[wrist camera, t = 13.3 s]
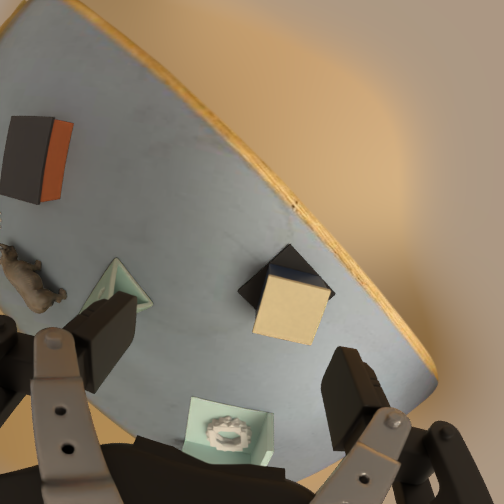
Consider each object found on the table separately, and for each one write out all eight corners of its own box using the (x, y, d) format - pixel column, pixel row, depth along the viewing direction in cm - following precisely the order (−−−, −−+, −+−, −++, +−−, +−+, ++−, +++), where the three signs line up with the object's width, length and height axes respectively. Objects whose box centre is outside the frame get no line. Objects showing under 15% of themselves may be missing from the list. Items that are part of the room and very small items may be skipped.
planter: (97, 376, 39) (155, 330, 32) (60, 363, 35) (106, 310, 28) (100, 333, 45) (156, 277, 38) (67, 319, 41) (114, 256, 34)
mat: (237, 290, 35) (237, 291, 34) (289, 243, 33) (290, 244, 33) (284, 335, 36) (284, 336, 35) (335, 293, 34) (335, 294, 34)
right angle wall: (273, 413, 39) (273, 451, 32) (254, 458, 42) (252, 492, 35) (191, 396, 39) (179, 432, 32) (184, 443, 42) (174, 476, 34)
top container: (268, 261, 33) (268, 275, 28) (322, 275, 33) (331, 291, 28) (254, 312, 35) (252, 332, 30) (305, 324, 35) (311, 345, 30)
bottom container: (34, 119, 30) (11, 115, 26) (75, 121, 31) (52, 117, 26) (22, 190, 33) (-2, 194, 28) (61, 200, 33) (37, 204, 28)
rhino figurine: (15, 228, 34) (-12, 236, 29) (70, 291, 36) (45, 307, 30) (8, 247, 35) (-18, 257, 29) (61, 309, 37) (37, 326, 31)
